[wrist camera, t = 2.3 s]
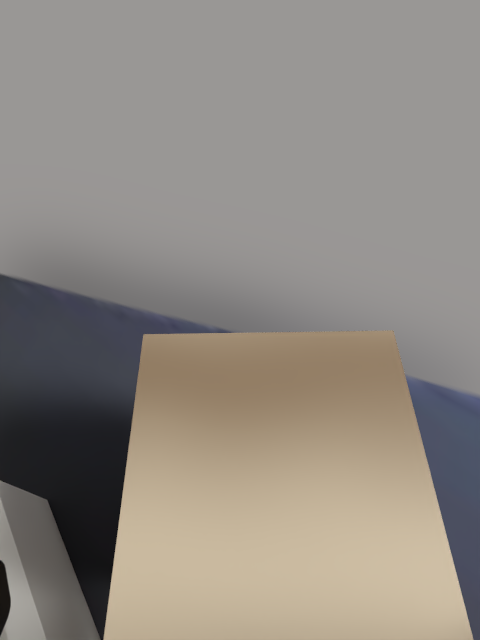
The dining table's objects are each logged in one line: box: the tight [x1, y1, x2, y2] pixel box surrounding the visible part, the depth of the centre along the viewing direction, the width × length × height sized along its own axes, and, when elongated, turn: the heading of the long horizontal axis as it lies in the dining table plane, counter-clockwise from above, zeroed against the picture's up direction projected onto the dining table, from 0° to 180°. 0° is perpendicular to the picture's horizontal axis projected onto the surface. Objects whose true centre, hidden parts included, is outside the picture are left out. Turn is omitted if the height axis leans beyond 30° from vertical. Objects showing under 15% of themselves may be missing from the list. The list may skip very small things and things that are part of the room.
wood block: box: [104, 331, 473, 640], centre depth 11 cm, size 5×5×10 cm
